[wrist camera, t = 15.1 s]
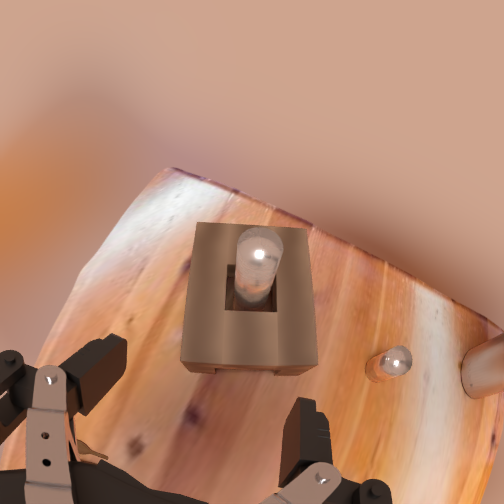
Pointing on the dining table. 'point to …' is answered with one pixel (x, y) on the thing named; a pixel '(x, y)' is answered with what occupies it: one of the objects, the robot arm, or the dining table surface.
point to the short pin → (389, 364)
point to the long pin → (255, 268)
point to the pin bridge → (247, 322)
